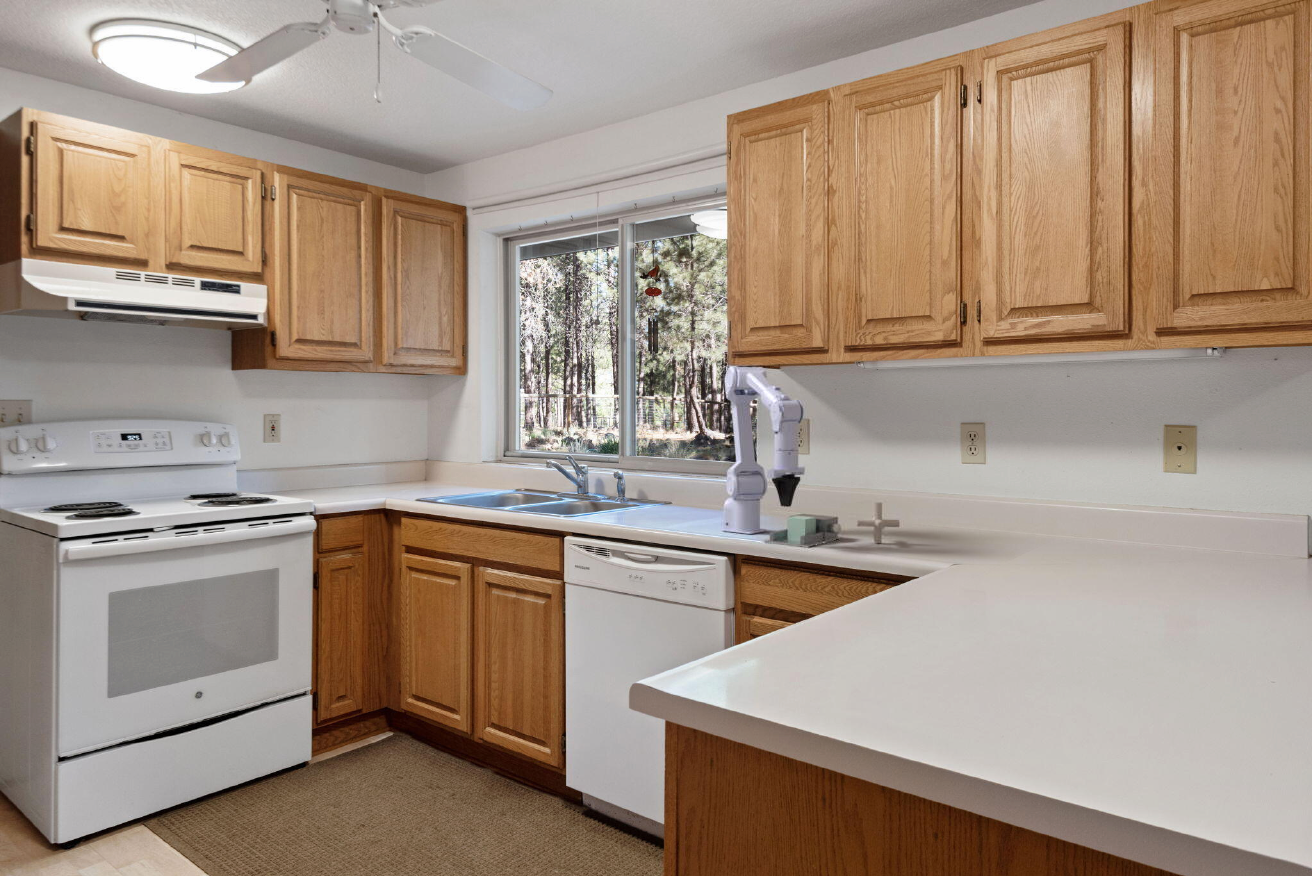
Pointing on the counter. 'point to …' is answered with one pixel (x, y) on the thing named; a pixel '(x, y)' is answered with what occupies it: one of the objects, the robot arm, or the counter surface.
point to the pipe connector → (877, 522)
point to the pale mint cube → (800, 527)
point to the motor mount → (824, 533)
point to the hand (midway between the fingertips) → (785, 506)
